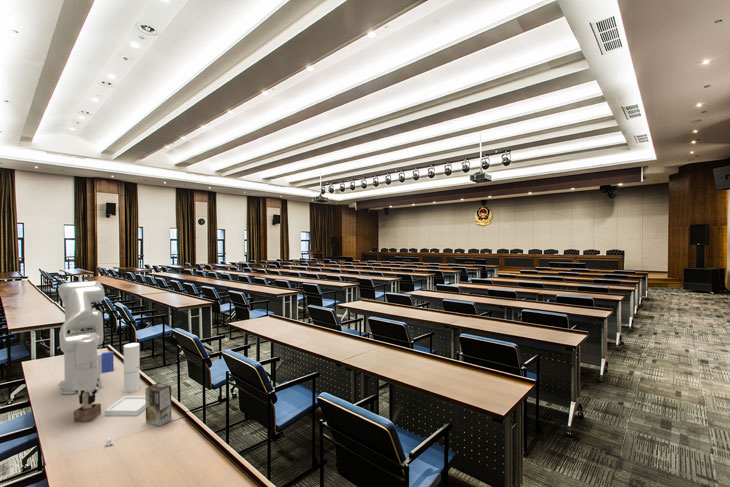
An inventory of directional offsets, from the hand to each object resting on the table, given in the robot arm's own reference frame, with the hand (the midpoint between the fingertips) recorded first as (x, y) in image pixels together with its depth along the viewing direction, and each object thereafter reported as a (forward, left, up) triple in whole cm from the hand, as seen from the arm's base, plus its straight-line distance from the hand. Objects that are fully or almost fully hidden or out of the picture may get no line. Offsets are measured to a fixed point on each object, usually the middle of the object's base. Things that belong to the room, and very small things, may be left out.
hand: (87, 402), depth 157 cm
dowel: (0, 0, -6) cm, 6 cm away
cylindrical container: (+2, +28, -7) cm, 29 cm away
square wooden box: (0, 0, -7) cm, 7 cm away
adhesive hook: (+25, -21, -8) cm, 34 cm away
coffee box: (+34, -2, -7) cm, 35 cm away
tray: (+14, +9, -7) cm, 18 cm away
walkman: (-29, +51, -7) cm, 59 cm away
